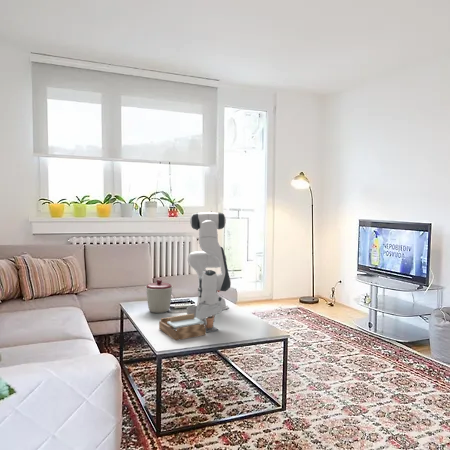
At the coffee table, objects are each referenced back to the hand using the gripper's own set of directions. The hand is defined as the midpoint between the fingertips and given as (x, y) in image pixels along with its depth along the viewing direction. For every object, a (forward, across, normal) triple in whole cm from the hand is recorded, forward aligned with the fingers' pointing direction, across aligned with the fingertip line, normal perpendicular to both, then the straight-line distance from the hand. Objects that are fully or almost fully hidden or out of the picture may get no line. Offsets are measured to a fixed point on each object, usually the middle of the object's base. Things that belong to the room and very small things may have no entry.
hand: (208, 323), depth 251 cm
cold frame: (+4, -12, +10) cm, 16 cm away
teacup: (+4, +12, +18) cm, 22 cm away
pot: (+2, 0, 0) cm, 2 cm away
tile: (+4, 0, 0) cm, 4 cm away
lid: (-2, -14, +5) cm, 15 cm away
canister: (+4, +12, +50) cm, 52 cm away
